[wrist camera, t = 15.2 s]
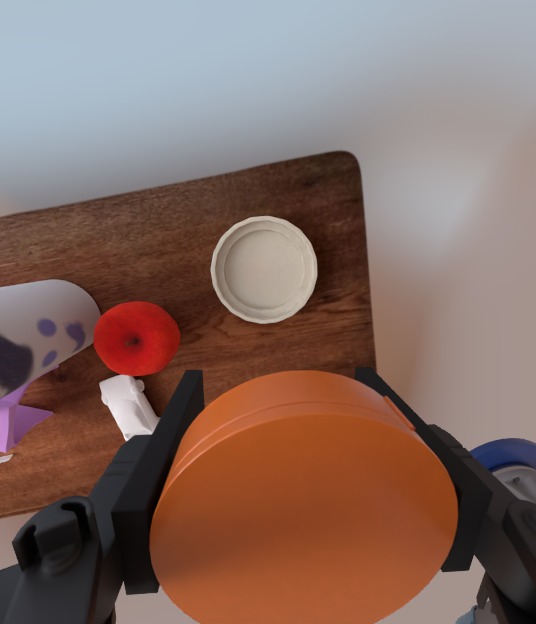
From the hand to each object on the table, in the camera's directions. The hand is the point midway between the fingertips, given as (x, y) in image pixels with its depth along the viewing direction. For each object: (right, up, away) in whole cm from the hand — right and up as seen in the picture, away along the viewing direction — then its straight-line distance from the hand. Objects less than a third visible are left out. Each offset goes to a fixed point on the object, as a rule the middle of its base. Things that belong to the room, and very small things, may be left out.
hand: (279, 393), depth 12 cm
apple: (-16, +2, +22) cm, 27 cm away
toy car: (-20, -10, +25) cm, 34 cm away
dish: (-1, +10, +21) cm, 23 cm away
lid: (0, -2, -6) cm, 6 cm away
